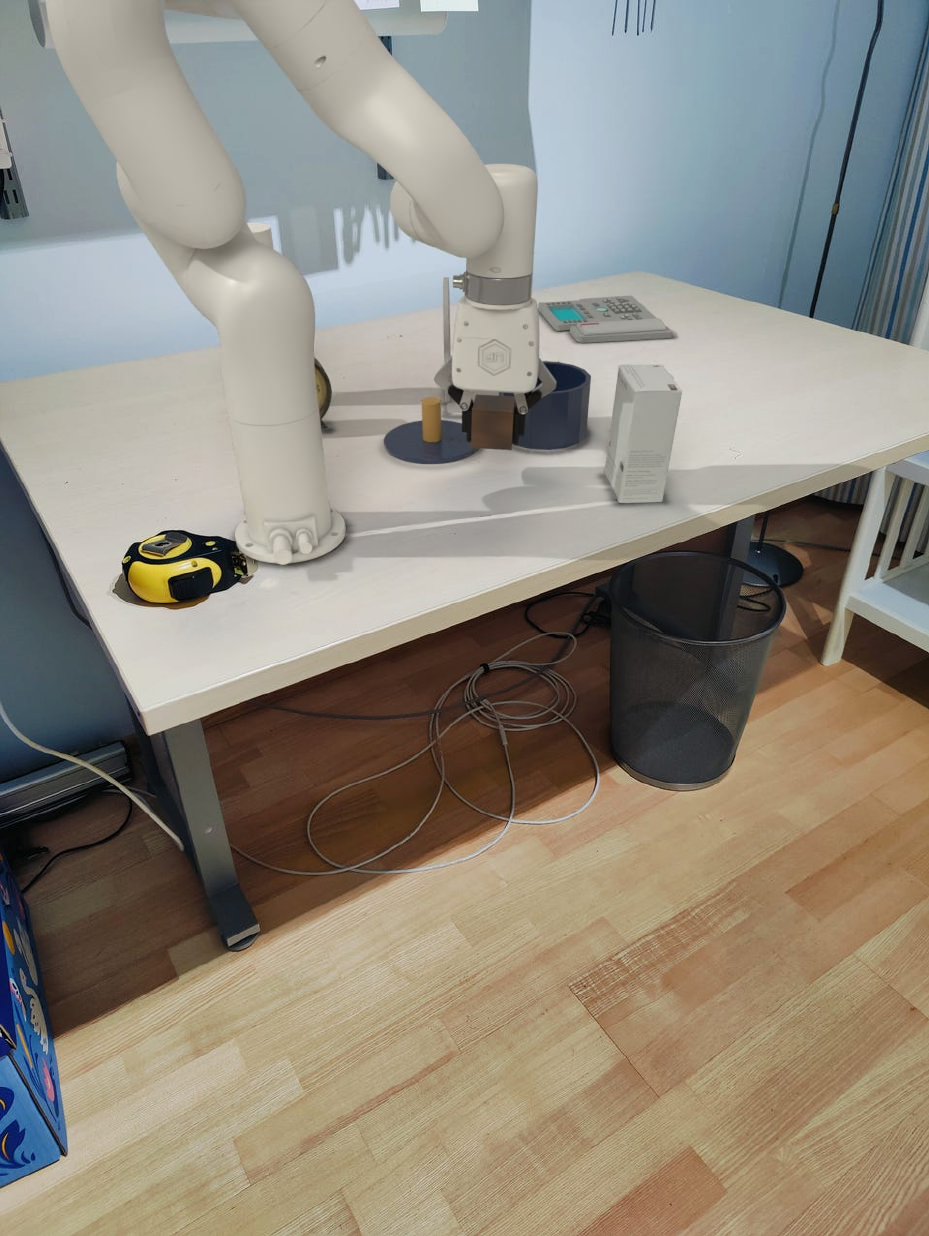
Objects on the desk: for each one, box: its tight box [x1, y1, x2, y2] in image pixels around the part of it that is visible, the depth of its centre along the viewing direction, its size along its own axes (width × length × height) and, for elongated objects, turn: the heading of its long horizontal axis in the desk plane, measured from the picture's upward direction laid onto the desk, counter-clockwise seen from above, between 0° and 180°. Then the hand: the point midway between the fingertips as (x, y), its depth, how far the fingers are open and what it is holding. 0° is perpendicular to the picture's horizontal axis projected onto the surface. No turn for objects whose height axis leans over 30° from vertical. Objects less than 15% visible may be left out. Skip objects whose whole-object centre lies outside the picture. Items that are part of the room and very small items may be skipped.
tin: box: [499, 360, 592, 451], centre depth 121 cm, size 12×12×8 cm
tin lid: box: [383, 396, 480, 465], centre depth 118 cm, size 13×13×7 cm
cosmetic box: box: [603, 364, 683, 504], centre depth 105 cm, size 8×6×15 cm
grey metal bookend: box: [442, 276, 499, 414], centre depth 133 cm, size 22×13×17 cm, turn 0°
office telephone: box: [537, 295, 673, 344], centre depth 165 cm, size 23×3×20 cm
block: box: [471, 394, 516, 451], centre depth 107 cm, size 5×5×5 cm
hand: (493, 437), depth 108 cm, fingers closed on block, 5 cm apart
